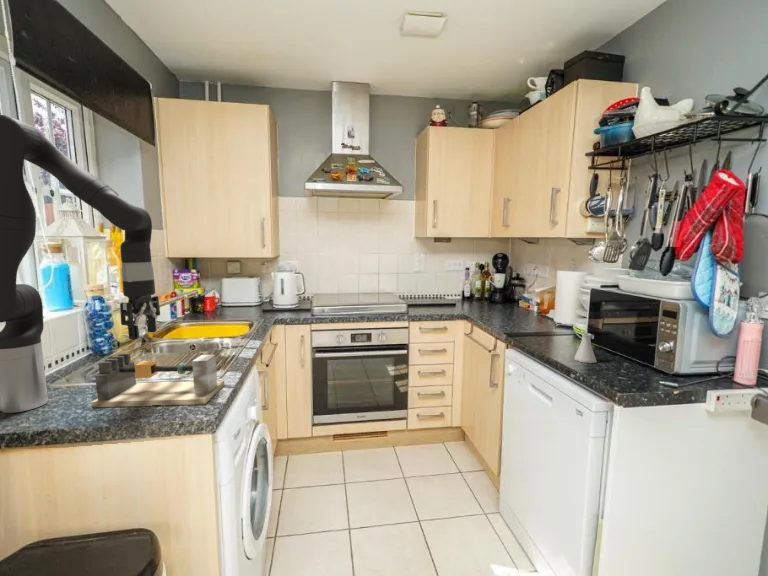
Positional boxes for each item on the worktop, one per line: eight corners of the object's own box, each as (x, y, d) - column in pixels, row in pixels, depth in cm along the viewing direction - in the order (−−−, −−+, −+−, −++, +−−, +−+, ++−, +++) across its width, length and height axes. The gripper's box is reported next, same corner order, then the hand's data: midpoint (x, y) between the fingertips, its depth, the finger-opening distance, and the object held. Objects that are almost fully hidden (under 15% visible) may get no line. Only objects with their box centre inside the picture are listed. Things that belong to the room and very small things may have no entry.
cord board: (91, 407, 101) (87, 366, 100) (125, 387, 115) (121, 351, 114) (205, 404, 102) (202, 363, 101) (224, 385, 116) (222, 349, 115)
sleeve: (135, 378, 106) (134, 365, 106) (143, 373, 110) (142, 360, 109) (150, 377, 106) (149, 364, 106) (157, 373, 110) (156, 360, 109)
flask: (600, 363, 134) (602, 336, 133) (580, 363, 134) (581, 336, 133) (589, 357, 141) (590, 331, 140) (570, 357, 141) (571, 331, 140)
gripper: (140, 276, 112) (144, 330, 113) (106, 281, 97) (113, 342, 99) (165, 276, 112) (170, 329, 114) (136, 280, 98) (142, 341, 100)
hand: (143, 335), depth 107 cm, fingers open, 8 cm apart
